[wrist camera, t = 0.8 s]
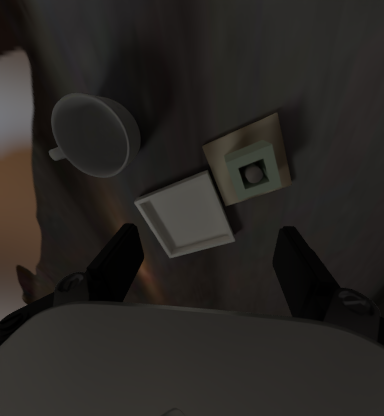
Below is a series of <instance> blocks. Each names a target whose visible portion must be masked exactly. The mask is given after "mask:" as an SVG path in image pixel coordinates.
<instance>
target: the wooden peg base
mask: <svg viewBox="0 0 384 416" xmlns="http://www.w3.org/2000/svg"><path fill="white" fill-rule="evenodd" d="M261 140H264V141H266V142H269V143H271V144H272V146H273V150H274V155H275V159H276V164H277V168H278V172H279V177H280V181H281V185H282V187H279V188H276V189H273V190H270V191H267V192H264V193H260V194H257V195H254V196H251V197H248V198H245V199H242V200H238V197H237V194H236V191H235V188H234V185H233V183H232V180H231V177H230V174H229V171H228V169H227V166H226V163H225V159H224V156H225V155H227V154H230V153H232V152H234V151H237V150H239V149H242V148H244V147H246V146H249V145H251V144H254V143H256V142H258V141H261ZM202 148H203V150H204V153H205V155H206V158H207V160H208V163H209V165H210V168H211V170H212V173H213V175H214V178H215V180H216V183H217V186H218V188H219V191H220V193H221V196H222V198H223V201H224V203H225V206H228V205H231V204H234V203H237V202H241V201H244V200H247V199H250V198H253V197H256V196H259V195H262V194H265V193H268V192H271V191H274V190H277V189H280V188H284V187H287V186H290V185H292V183H291V178H290V173H289V168H288V163H287V158H286V153H285V148H284V143H283V138H282V133H281V128H280V123H279V118H278V113H274V114H272V115H270V116H268V117H266V118H263V119H261V120H259V121H257V122H254V123H252V124H250V125H248V126H246V127H243V128H241V129H239V130H237V131H234V132H232V133H230V134H228V135H225V136H223V137H221V138H219V139H217V140H214V141H212V142H210V143H208V144H205V145H203V146H202ZM238 169H239V173H240V176H241V179H243V178H247V180H248V181H249V182H250V183H257V182H259V181H260V180H261V179H262V177H263V173H262V171H261V169H260V165H259V161H255V162H253V163H250V164H248V165H245V166H242V167H240V168H238Z"/></svg>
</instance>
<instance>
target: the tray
mask: <svg viewBox="0 0 384 416" xmlns="http://www.w3.org/2000/svg"><path fill="white" fill-rule="evenodd" d="M134 203H135V205H136V206H137V208H138V209H139V211H140V212H141V214H142V216H143V217H144V219H145V220H146V222H147V223H148V225H149V226H150V228H151V230H152V231H153V233H154V234H155V236H156V237H157V239H158V240H159V242H160V244H161V245H162V247H163V248H164V250H165V251H166V253H167V254H168V256H169V258H173V257H176V256H180V255H184V254H188V253H192V252H196V251H199V250H203V249H207V248H211V247H215V246H219V245H223V244H226V243H230V242H234V241H235V237H234V233H233V231H232V228H231V226H230V223H229V221H228V219H227V216H226V214H225V211H224V209H223V206H222V204H221V201H220V199H219V196H218V194H217V191H216V189H215V186H214V184H213V181H212V179H211V176H210V174H209V172H208V170H206V171H203V172H201V173H198V174H196V175H193V176H191V177H188V178H186V179H183V180H181V181H178V182H176V183H173V184H171V185H168V186H166V187H163V188H161V189H158V190H156V191H153V192H151V193H148V194H146V195H143V196H141V197H139V198H137V199H136V201H135V202H134Z"/></svg>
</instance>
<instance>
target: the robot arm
mask: <svg viewBox="0 0 384 416" xmlns="http://www.w3.org/2000/svg"><path fill="white" fill-rule="evenodd" d="M143 260H144V253H143V249H142V245H141V241H140V237H139V233H138V229H137V226H135V225H134V224H130V223H125V224H124V225H123V226H122V227H121V228H120V229H119V231H118V232H117V233H116V234H115V235H114V236H113V238H112V239H111V240H110V241H109V242H108V244H107V245H106V246H105V247H104V248H103V249H102V251H101V252H100V253H99V254H98V255H97V256H96V258H95V259H94V260H93V261H92V262H91V264H90V265H89V266H88V267H87V271H86V272H85V273H84V272H74V273H71V274H69V275H67V276H65V277H64V278H63V279H61V280H60V281H59V282H58V283H57V285H56V286H55V290H54V292H53V293H51V294H49V295H47V296H45V297H43V298H41V299H39V300H37V301H35V302H33V303H31V304H28V305H26V306H25V307H22V308H20V309H18V310H16V311H14V312H12V313H11V314H9V315H8V316H6V317H5V318H4V319H2V320H1V321H0V416H384V318H382V317H380V311H379V309H378V307H377V306H376V305H375V303H374V302H373V301H372V300H370V299H369V298H368V297H367V296H365V295H363V294H362V293H360V292H358V291H355V290H353V289H349V288H341V287H340V286H339V285H338V283H337V282H336V281H335V279H334V278H333V277H332V275H331V274H330V272H329V271H328V270H327V268H326V267H325V266H324V264H323V263H322V262H321V260H320V259H319V257H318V256H317V255H316V253H315V252H314V251H313V250H312V249H310V247H309V246H308V244H307V243H306V242H305V240H304V239H303V237H302V236H301V235H300V233H299V232H298V231H297V229H296V228H295V227H294V226H284V227H283V228H282V229H280V230H279V234H278V239H277V243H276V248H275V252H274V257H273V267H274V270H275V272H276V275H277V278H278V280H279V283H280V285H281V288H282V290H283V293H284V296H285V298H286V301H287V303H288V306H289V309H290V311H291V314H292V316H293V317H287V316H278V315H268V314H257V313H246V312H235V311H224V310H213V309H201V308H189V307H177V306H165V305H152V304H139V303H127V302H123V300H124V298H125V296H126V294H127V292H128V290H129V288H130V286H131V284H132V282H133V280H134V278H135V276H136V274H137V272H138V270H139V268H140V266H141V264H142V262H143Z"/></svg>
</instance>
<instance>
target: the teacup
mask: <svg viewBox="0 0 384 416" xmlns="http://www.w3.org/2000/svg"><path fill="white" fill-rule="evenodd" d="M51 124H52V131H53V134H54V137H55V140H56V142H57V144H58V146H59V147H57V148H54V149H52V150H50V151H49V154H50V156H51V157H52V158H53V159H54V160H60V159H63V158H67V159H68V160H69V161H70V162H71V163H72V164H73V165H74V166H75V167H77V168H78V169H79V170H81V171H83V172H85V173H86V174H89V175H92V176H95V177H111V176H114V175H116V174H118V173H119V172H121V171H122V170H123V169H124V168H125V167H126V166H127V165H128V164H130V163H131V162H132V161H133V160H134V158H135V157H136V156H137V154H138V151H139V149H140V143H141V137H140V131H139V127H138V125H137V123H136V121H135V119H134V117H133V116H132V115H131V113H130V112H129V111H128V110H127V109H126V108H125V107H124V106H122V105H121V104H119V103H118V102H116V101H114V100H111V99H109V98H105V97H100V96H94V95H90V94H85V93H72V94H68V95H65V96H64V97H62V98H61V100H59V101H58V102H57V104H56V105H55V107H54V109H53V112H52V118H51Z"/></svg>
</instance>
